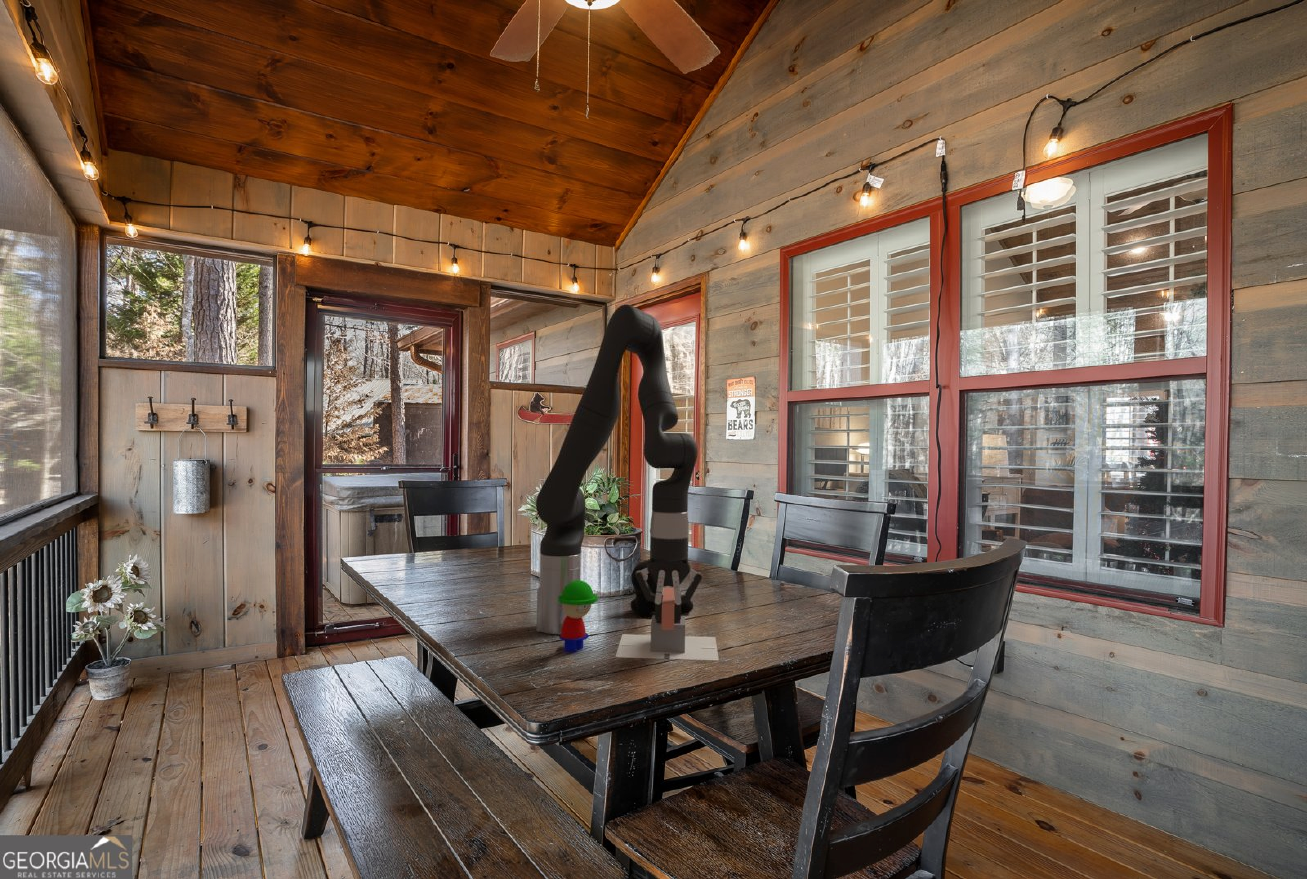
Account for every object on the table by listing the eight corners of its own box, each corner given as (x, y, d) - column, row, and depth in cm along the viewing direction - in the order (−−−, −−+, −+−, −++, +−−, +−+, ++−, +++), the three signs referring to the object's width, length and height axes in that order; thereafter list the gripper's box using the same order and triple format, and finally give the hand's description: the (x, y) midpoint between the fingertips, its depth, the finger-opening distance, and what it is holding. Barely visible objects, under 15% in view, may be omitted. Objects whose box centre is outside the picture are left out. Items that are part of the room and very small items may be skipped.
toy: (580, 665, 126) (581, 586, 126) (548, 657, 130) (550, 581, 130) (604, 654, 132) (605, 579, 132) (574, 647, 137) (575, 575, 137)
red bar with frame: (652, 636, 141) (653, 587, 141) (684, 637, 141) (685, 588, 141) (649, 657, 127) (650, 603, 127) (684, 658, 127) (685, 604, 127)
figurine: (664, 625, 154) (665, 561, 154) (618, 615, 162) (619, 554, 162) (700, 611, 167) (701, 552, 167) (656, 603, 175) (657, 546, 175)
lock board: (615, 663, 127) (615, 631, 127) (622, 639, 142) (622, 611, 142) (718, 666, 126) (719, 634, 126) (715, 642, 141) (715, 613, 141)
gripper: (704, 532, 133) (702, 618, 133) (635, 531, 133) (633, 616, 133) (705, 537, 125) (704, 629, 125) (632, 536, 126) (631, 626, 126)
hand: (667, 622), depth 129 cm, fingers closed on red bar with frame, 2 cm apart
